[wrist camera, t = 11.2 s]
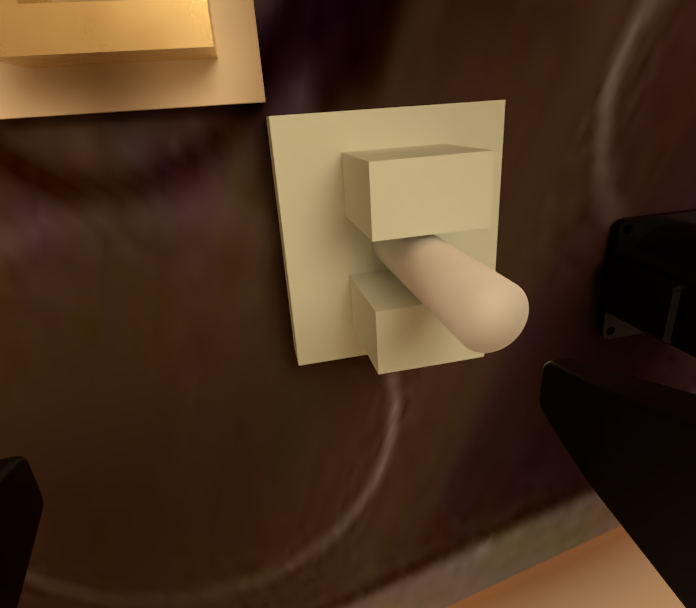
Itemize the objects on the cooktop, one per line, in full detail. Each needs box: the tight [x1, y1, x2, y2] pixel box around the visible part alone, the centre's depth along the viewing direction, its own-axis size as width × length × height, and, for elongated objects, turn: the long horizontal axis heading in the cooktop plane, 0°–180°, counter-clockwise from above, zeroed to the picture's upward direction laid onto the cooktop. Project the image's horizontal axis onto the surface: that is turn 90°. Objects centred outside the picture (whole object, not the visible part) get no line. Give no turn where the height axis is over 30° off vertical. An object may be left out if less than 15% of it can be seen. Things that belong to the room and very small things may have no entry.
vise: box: [266, 100, 529, 375], centre depth 16 cm, size 9×10×10 cm
